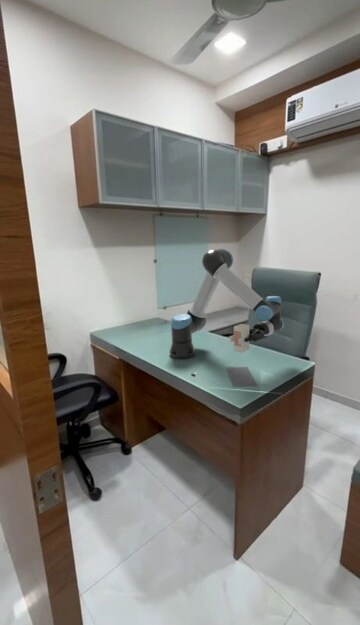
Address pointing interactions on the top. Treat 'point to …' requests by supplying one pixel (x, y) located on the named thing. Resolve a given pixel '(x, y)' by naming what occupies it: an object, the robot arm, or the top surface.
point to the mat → (241, 377)
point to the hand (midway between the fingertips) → (234, 340)
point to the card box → (240, 332)
